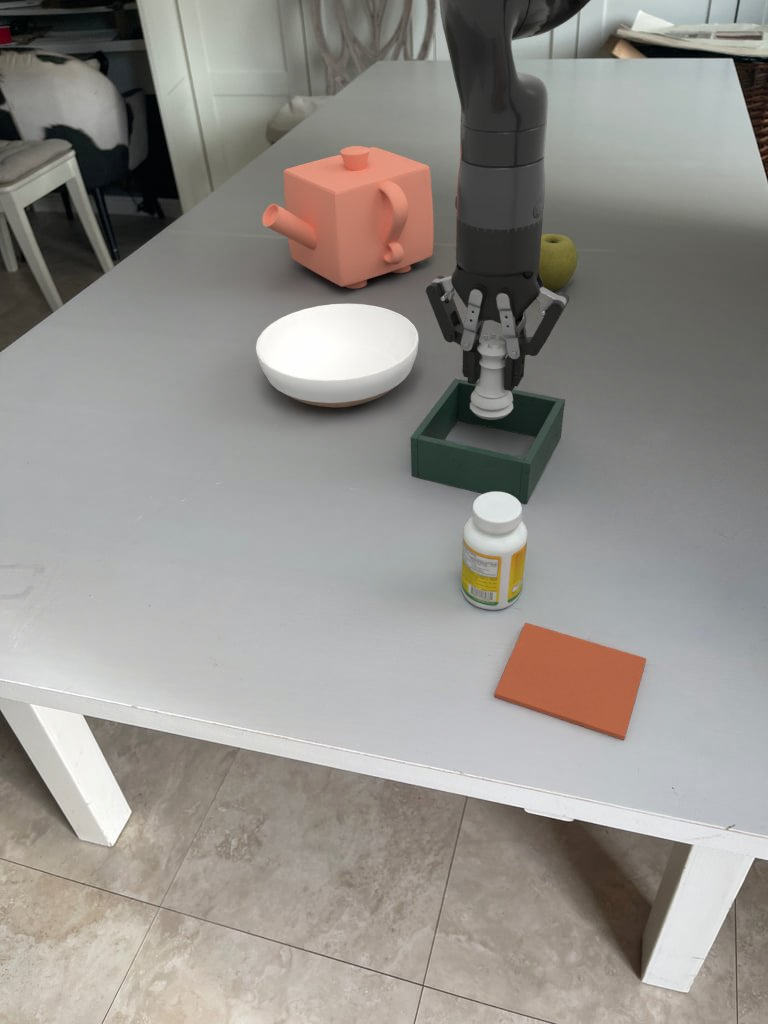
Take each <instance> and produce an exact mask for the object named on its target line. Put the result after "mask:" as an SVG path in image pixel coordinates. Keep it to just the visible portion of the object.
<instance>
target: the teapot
mask: <svg viewBox="0 0 768 1024" xmlns="http://www.w3.org/2000/svg"><path fill="white" fill-rule="evenodd" d="M432 190H433V189H432V177H431V168H430V166H429V165H428V164H424V163H422V162H419V161H417V160H414V159H411V158H407V157H405V156H402V155H400V154H397V153H393V152H391V151H388V150H385V149H382V148H378V147H377V146H372V147H366V146H363V145H351V146H346V147H344V148H342V149H341V150H340V154H337V155H332V156H328V157H325V158H321V159H317V160H314V161H310V162H307V163H303V164H299V165H295V166H292V167H289V168H285V169H284V170H283V193H284V195H283V196H284V207H282V206H280V205H279V204H277V203H271V204H270V205H268V206H267V207H266V209H264V212H263V214H262V225H263V226H264V227H266V228H268V229H270V230H272V231H273V232H276V233H278V234H279V235H282V236H284V237H286V238H287V242H288V248H289V252H290V256H291V259H292V260H294V261H295V262H297V263H298V264H300V265H302V266H304V267H305V268H307V269H308V270H310V271H312V272H314V273H316V274H317V275H319V276H321V277H323V278H325V279H326V280H328V281H330V282H331V283H334V284H335V285H338V286H339V287H345V288H347V289H353V290H354V289H355V290H356V289H361V288H364V287H365V286H367V284H368V282H367V281H368V280H369V279H372V278H375V277H379V276H382V275H385V274H388V273H394V274H403V273H404V274H405V273H407V272H409V271H411V270H412V267H411V265H413V264H416V263H419V262H421V261H424V260H426V259H429V258H431V257H432V256H433V252H434V242H435V241H434V240H435V238H434V237H435V232H434V231H435V230H434V228H435V227H434V205H433V204H434V202H433V191H432Z"/></svg>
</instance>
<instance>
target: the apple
mask: <svg viewBox="0 0 768 1024" xmlns="http://www.w3.org/2000/svg"><path fill="white" fill-rule="evenodd" d="M578 257H579V256H578V249H577V247H576V244H575V243H574V241H573V240H572V239H571V238H570V237H568V236H566V235H565V234H559V233H558V234H556V233H544V234H543V233H542V235H541V248H540V261H539V274H540V277H541V279H542V281H543V287H544V288H546V289H548V290H550V291H551V292H556V291H559V290H560V289H562V288H564V286H566V285H567V284H568V283H569V282H570V281H571V279H572V278H573V276H574V274H575V272H576V269H577V266H578V265H577V264H578V259H579V258H578Z"/></svg>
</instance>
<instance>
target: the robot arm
mask: <svg viewBox="0 0 768 1024" xmlns="http://www.w3.org/2000/svg"><path fill="white" fill-rule="evenodd" d="M591 1H592V0H439V12H440V20H441V25H442V30H443V33H444V38H445V42H446V46H447V50H448V51H447V52H448V55H449V60H450V63H451V68H452V73H453V78H454V82H455V86H456V90H457V95H458V99H459V103H460V124H459V125H460V131H459V132H460V133H459V135H460V137H459V143H460V144H459V166H458V173H457V180H456V195H455V201H454V204H455V205H454V206H455V207H454V208H455V210H456V214H455V215H456V219H455V223H456V224H455V225H456V227H455V228H456V229H455V237H456V238H455V262H456V265H455V269H454V270H453V272H452V274H451V275H450V276H446V277H445V276H443V275H438V276H436V277H435V278H434V279H433V280H432V281H431V282H430V283H429V284H428V286H427V287H426V289H425V293H426V296H427V299H428V301H429V304H430V307H431V308H432V311H433V314H434V316H435V319H436V321H437V324H438V326H439V329H440V332H441V334H442V337H443V340H445V342H447V343H456V344H457V345H459V346H460V348H461V350H462V368H461V369H462V371H461V372H462V375H463V377H464V378H467V381H468V383H470V384H476V382H479V378H480V373H481V365H480V364H479V360H480V359H481V358H482V355H481V354H480V352H479V351H478V349H477V347H478V345H479V344H480V343H481V342H480V339H481V336H482V332H483V328H484V324H485V322H487V321H493V322H495V323H497V324H500V326H501V332H502V335H503V337H505V339H506V345H507V352H508V354H507V355H506V366H505V385H504V389H505V390H508V391H512V390H513V389H514V390H515V387H518V386H519V384H520V383H521V382H522V380H523V379H524V376H525V366H526V365H525V363H526V356H530V357H536V356H538V354H539V353H540V351H541V350H542V348H543V347H544V345H545V344H546V342H547V341H548V338H549V337H550V335H551V334H552V331H553V330H554V328H555V326H556V325H557V323H558V321H559V319H560V317H561V316H562V314H563V312H564V311H565V309H566V307H567V305H568V304H569V302H570V297H569V294H568V293H566V292H563V291H562V292H561V291H560V292H559V293H557V294H556V293H555V292H554V291H550V290H548V289H546V288H544V287H543V281H542V279H541V277H540V274H539V261H540V248H541V235H543V222H544V221H543V219H544V207H545V194H546V170H545V155H546V143H547V142H546V140H547V126H548V114H549V93H548V89H547V86H546V83H544V81H543V80H542V79H541V78H539V77H537V76H536V75H533V74H531V73H526V72H520V71H517V68H516V64H515V63H516V62H515V58H514V54H513V48H512V45H513V44H512V41H518V40H522V39H528V38H532V37H538V36H541V35H543V34H546V33H548V32H550V31H552V30H554V29H556V28H558V27H560V26H562V25H564V24H565V23H566V22H568V21H569V20H571V19H572V18H573V17H575V16H576V15H577V14H578V13H579V12H581V11H582V10H583V9H584V8H585V7H586V6H587V5H589V3H590V2H591ZM455 294H457V296H458V297H459V298H460V300H461V301H462V303H463V304H464V306H465V307H466V313H465V316H464V322H463V320H462V318H461V314H460V311H459V310H458V307H457V304H456V302H455V299H454V297H455ZM536 300H537V302H538V303H539V307H538V313H539V315H540V316H541V317H542V319H541V320H540V323H539V325H538V326H537V328H536V330H535V332H534V334H533V336H528V335H527V329H526V324H527V315H526V310H527V309H528V308H529V307H531V305H532V304H533V303H534V302H535V301H536Z"/></svg>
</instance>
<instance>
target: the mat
mask: <svg viewBox="0 0 768 1024" xmlns="http://www.w3.org/2000/svg"><path fill="white" fill-rule="evenodd" d="M515 643H516V644H515V646H514V648H513V650H512V652H511V655H510V657H509V658H508V662H507V664H506V666H505V668H504V670H503V672H502V675H501V677H500V680H499V682H498V684H497V687H496V689H495V691H494V694H493V695H494V696H493V697H494V698H497V699H499V700H502V701H505V702H509V703H510V704H514V705H516V706H520V707H523V708H526V709H529V710H532V711H535V712H538V713H541V714H544V715H547V716H550V717H553V718H557V719H559V720H562V721H565V722H568V723H571V724H574V725H577V726H580V727H583V728H586V729H589V730H592V731H595V732H598V733H601V734H603V735H607V736H610V737H612V738H616V739H619V740H622V741H624V740H625V739H626V736H627V731H628V729H629V724H630V721H631V716H632V713H633V709H634V706H635V702H636V698H637V694H638V691H639V689H640V688H639V687H640V684H641V681H642V677H643V673H644V670H645V666H646V662H647V658H646V657H643V656H640V655H636V654H632V653H630V652H626V651H623V650H621V649H620V650H619V649H616V648H612V647H610V646H606V645H602V644H599V643H596V642H593V641H589V640H585V639H582V638H579V637H575V636H572V635H569V634H565V633H562V632H558V631H555V630H551V629H548V628H545V627H542V626H539V625H535V624H532V623H528V622H524V626H523V627H522V629H521V631H520V634H519V636H518V639H517V640H516V642H515Z"/></svg>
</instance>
